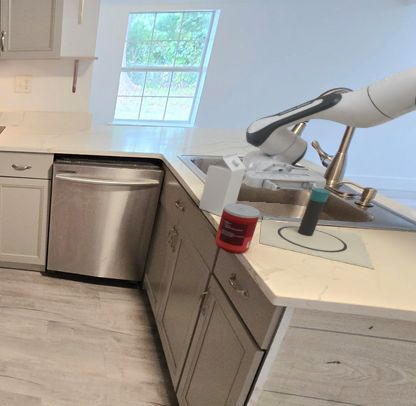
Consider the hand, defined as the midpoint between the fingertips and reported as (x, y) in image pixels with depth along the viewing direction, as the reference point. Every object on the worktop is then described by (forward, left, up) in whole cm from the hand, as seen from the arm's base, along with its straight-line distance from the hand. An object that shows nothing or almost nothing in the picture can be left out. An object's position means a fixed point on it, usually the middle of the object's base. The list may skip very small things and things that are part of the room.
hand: (295, 189), depth 107 cm
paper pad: (-5, +12, -10) cm, 16 cm away
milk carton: (+18, +4, -10) cm, 21 cm away
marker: (-4, +9, -9) cm, 14 cm away
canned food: (+12, +28, -10) cm, 32 cm away
